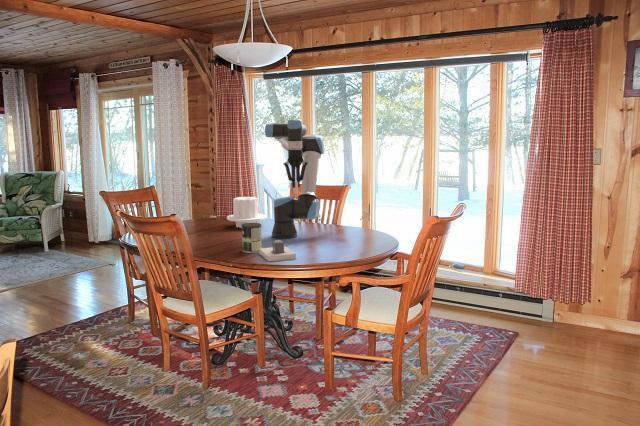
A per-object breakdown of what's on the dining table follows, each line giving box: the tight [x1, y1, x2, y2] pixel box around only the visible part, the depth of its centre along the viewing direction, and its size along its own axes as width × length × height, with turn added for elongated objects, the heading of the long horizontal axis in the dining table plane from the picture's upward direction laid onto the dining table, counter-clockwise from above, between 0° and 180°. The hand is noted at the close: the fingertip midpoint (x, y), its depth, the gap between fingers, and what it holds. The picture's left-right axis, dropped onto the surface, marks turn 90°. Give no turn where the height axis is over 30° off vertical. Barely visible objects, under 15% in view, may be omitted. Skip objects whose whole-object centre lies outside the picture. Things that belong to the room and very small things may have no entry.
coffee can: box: [241, 222, 263, 254], centre depth 273 cm, size 10×10×14 cm
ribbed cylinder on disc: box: [226, 196, 266, 229], centre depth 341 cm, size 25×25×19 cm
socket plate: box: [258, 245, 297, 262], centre depth 262 cm, size 18×14×3 cm
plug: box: [272, 239, 285, 254], centre depth 260 cm, size 4×4×8 cm
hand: (296, 193), depth 278 cm, fingers closed
